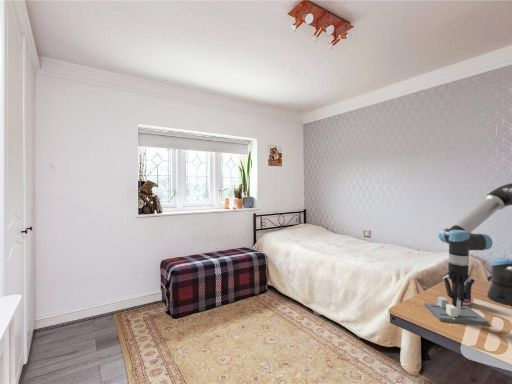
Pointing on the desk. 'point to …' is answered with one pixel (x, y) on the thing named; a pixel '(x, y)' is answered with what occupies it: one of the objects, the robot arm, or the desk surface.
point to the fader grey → (442, 302)
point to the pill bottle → (466, 301)
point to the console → (464, 317)
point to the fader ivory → (451, 310)
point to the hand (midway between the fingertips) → (457, 312)
